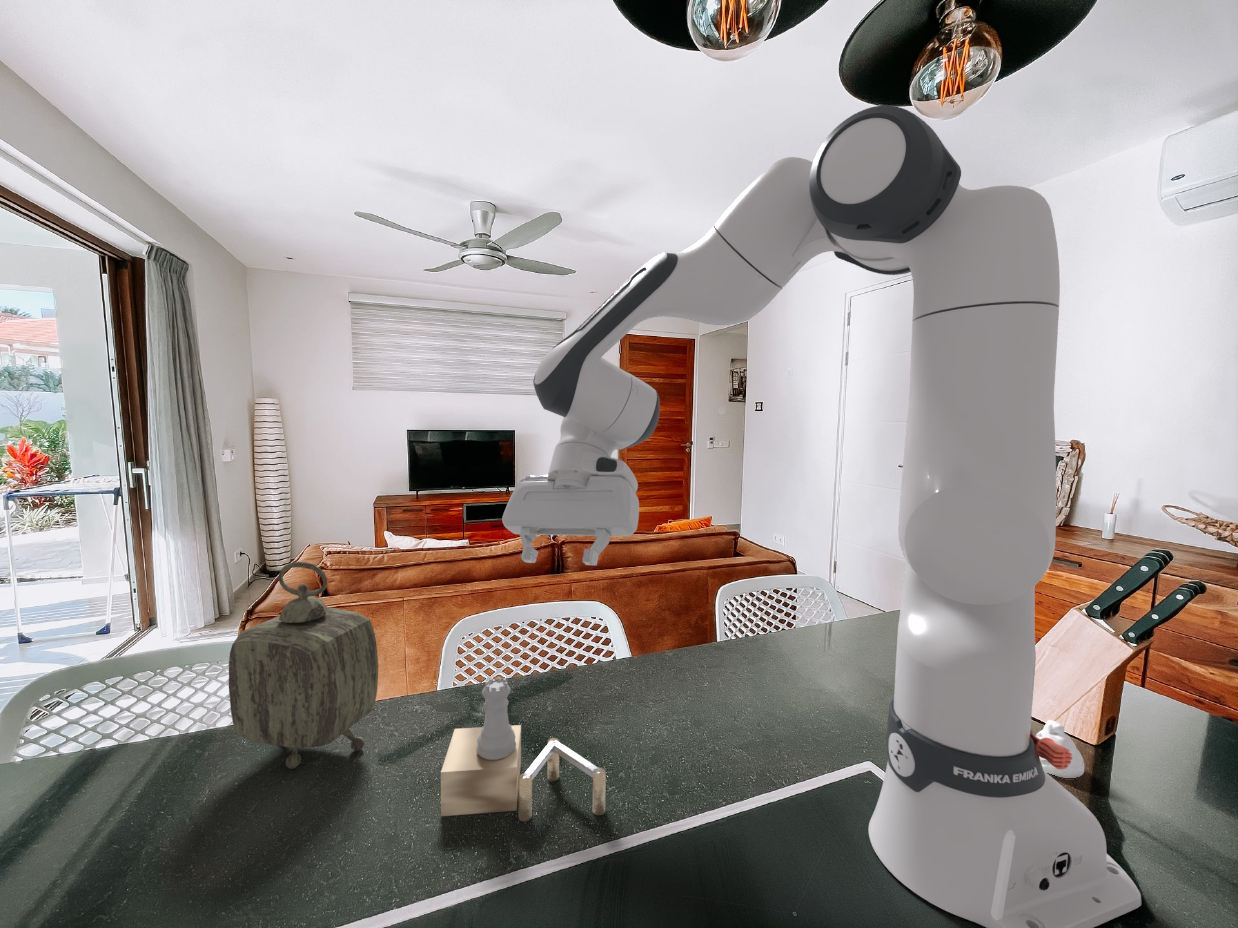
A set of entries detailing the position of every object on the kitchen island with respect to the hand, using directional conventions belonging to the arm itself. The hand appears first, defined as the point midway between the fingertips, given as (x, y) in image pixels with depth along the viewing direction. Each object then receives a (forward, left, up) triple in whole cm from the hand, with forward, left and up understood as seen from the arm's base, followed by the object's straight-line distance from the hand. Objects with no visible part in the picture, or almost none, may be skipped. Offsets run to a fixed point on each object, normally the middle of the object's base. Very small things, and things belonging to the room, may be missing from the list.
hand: (557, 562), depth 70 cm
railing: (+1, +13, -24) cm, 27 cm away
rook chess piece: (+7, +12, -19) cm, 23 cm away
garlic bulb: (-63, +15, -24) cm, 69 cm away
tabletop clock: (+32, +3, -24) cm, 40 cm away
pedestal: (+9, +11, -24) cm, 27 cm away
